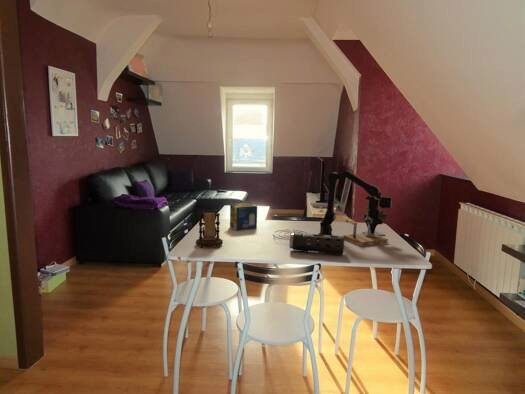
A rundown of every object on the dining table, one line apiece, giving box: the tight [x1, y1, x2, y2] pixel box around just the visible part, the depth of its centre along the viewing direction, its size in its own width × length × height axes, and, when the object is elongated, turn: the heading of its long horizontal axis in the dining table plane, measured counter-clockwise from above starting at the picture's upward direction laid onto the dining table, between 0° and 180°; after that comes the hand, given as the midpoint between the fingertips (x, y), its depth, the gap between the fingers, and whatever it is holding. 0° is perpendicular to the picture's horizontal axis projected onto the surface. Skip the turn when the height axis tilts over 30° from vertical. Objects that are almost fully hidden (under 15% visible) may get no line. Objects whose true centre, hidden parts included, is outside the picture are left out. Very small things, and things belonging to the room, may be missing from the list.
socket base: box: [343, 232, 389, 247], centre depth 225 cm, size 20×16×2 cm
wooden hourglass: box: [195, 209, 224, 249], centre depth 207 cm, size 15×15×20 cm
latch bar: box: [342, 215, 358, 238], centre depth 229 cm, size 19×2×9 cm, turn 7°
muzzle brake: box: [289, 231, 345, 256], centre depth 199 cm, size 10×28×10 cm, turn 78°
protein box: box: [229, 202, 258, 231], centre depth 249 cm, size 10×15×16 cm
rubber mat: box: [361, 230, 386, 237], centre depth 242 cm, size 10×10×1 cm
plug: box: [367, 221, 376, 238], centre depth 226 cm, size 5×5×10 cm
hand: (371, 232), depth 226 cm, fingers closed on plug, 4 cm apart
